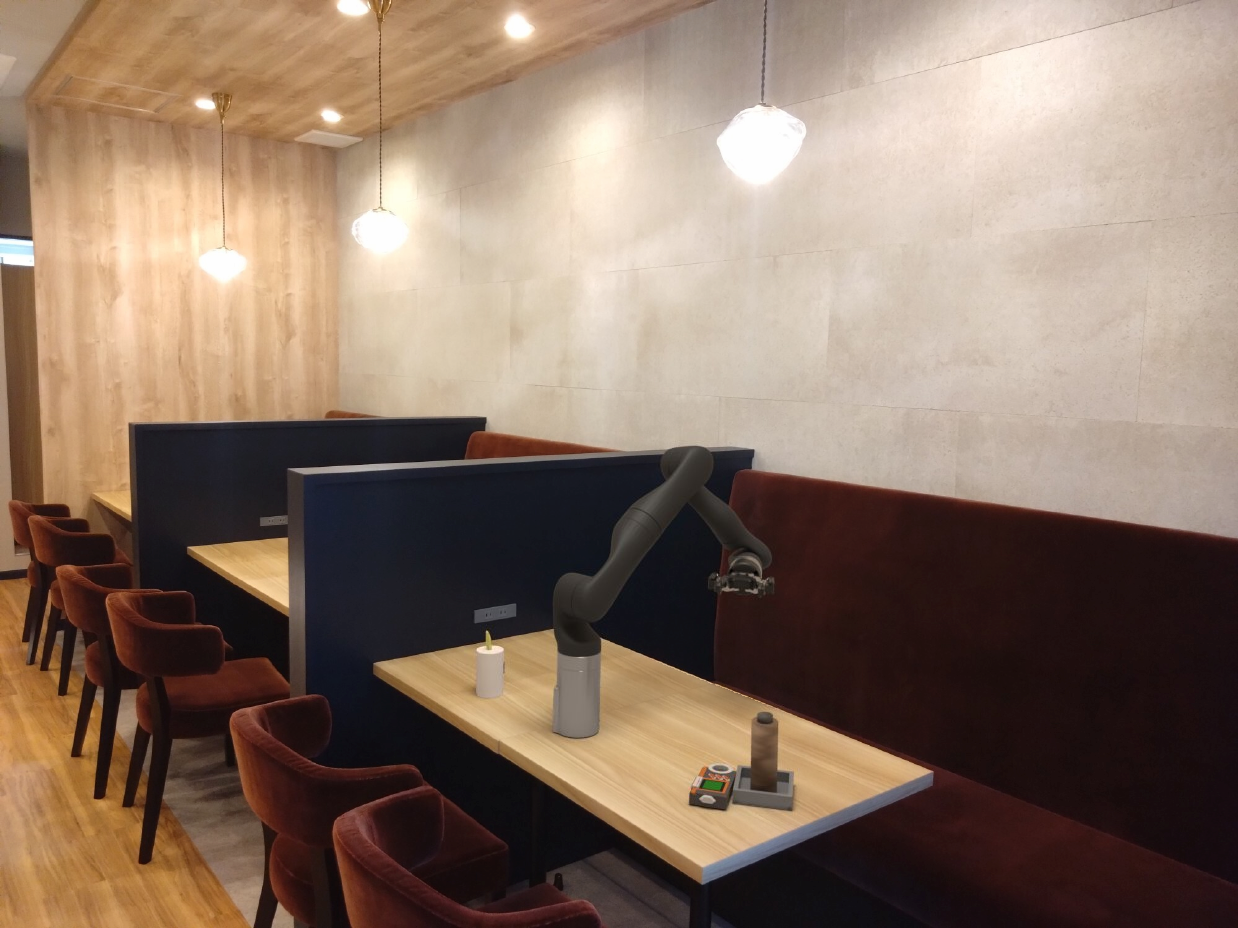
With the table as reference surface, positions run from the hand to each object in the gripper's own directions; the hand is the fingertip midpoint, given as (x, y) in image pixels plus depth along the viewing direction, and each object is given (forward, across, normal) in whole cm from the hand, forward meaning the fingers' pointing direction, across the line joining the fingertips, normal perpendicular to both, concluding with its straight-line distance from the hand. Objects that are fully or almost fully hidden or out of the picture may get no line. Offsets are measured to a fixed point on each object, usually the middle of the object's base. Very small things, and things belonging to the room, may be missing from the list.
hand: (739, 591), depth 191 cm
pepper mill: (+29, +8, +29) cm, 42 cm away
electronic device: (+30, -1, +31) cm, 43 cm away
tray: (+29, +8, +30) cm, 43 cm away
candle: (-5, -57, +30) cm, 65 cm away
